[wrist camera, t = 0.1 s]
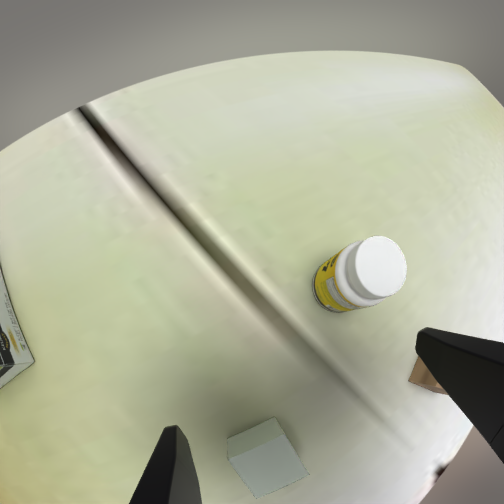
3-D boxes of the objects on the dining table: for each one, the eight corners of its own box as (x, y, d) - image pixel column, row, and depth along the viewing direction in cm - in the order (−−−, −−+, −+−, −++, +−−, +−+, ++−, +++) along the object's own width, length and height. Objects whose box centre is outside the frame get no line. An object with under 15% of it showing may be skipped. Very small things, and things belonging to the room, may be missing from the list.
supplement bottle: (343, 251, 26) (388, 217, 18) (368, 295, 25) (423, 277, 17) (300, 276, 25) (336, 250, 17) (327, 323, 24) (374, 317, 16)
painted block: (296, 453, 20) (309, 474, 16) (251, 474, 20) (256, 498, 15) (274, 416, 21) (284, 433, 17) (227, 438, 20) (227, 459, 16)
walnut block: (449, 353, 24) (477, 353, 20) (434, 392, 23) (462, 397, 18) (424, 339, 24) (452, 338, 20) (407, 380, 23) (435, 386, 19)
